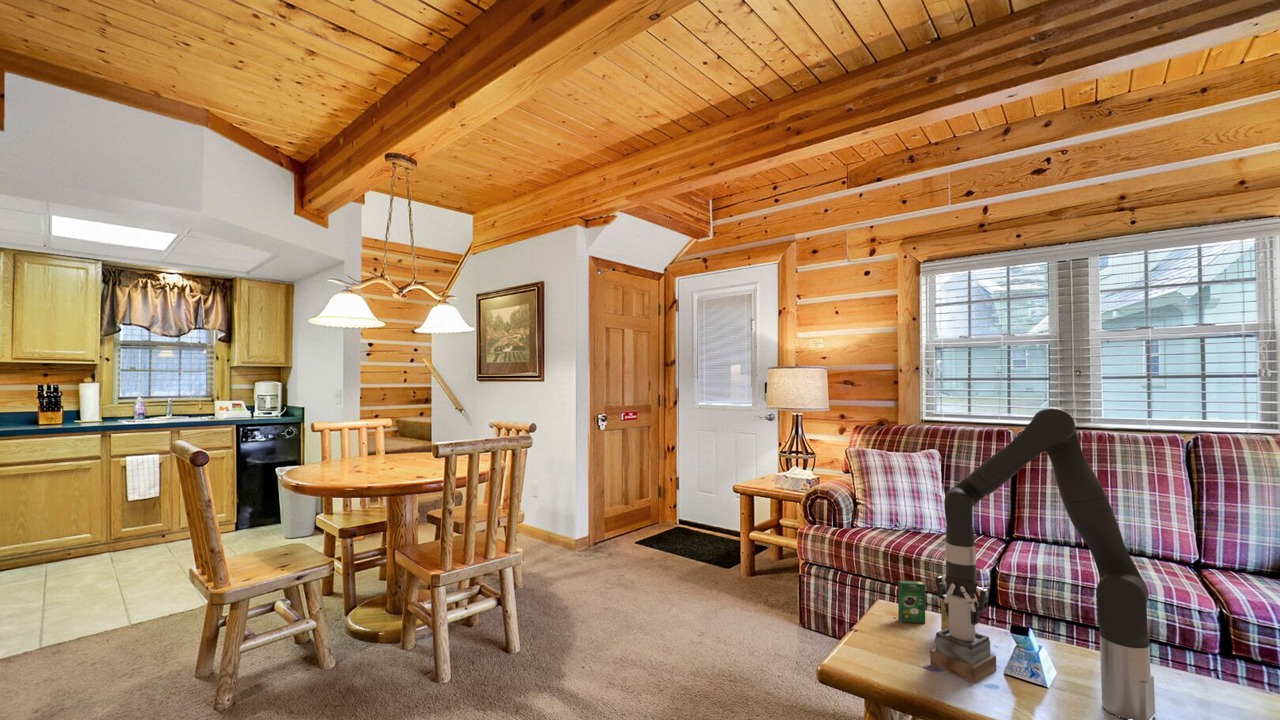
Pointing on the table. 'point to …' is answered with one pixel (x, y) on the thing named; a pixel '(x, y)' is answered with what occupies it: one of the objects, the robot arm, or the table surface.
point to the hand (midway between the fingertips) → (962, 619)
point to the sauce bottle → (944, 613)
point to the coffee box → (911, 602)
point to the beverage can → (960, 619)
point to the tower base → (963, 666)
